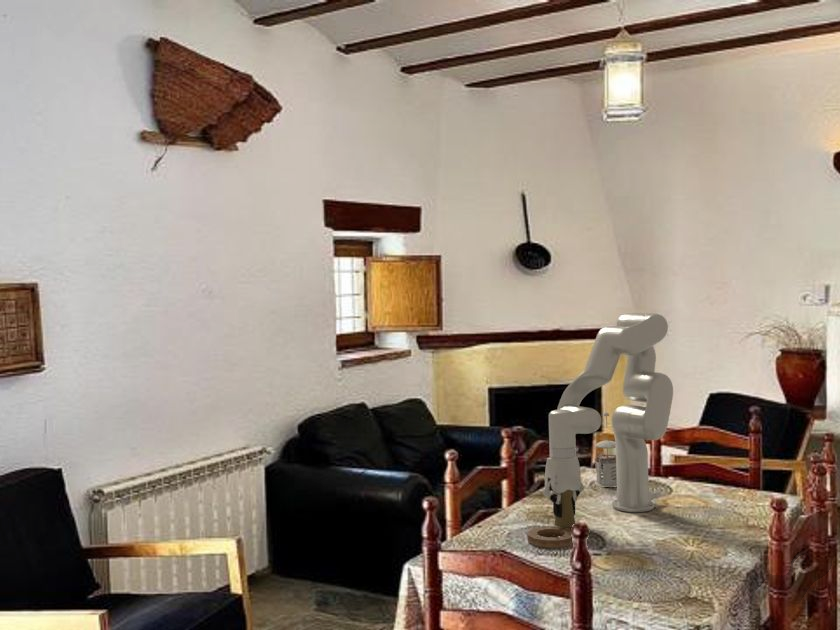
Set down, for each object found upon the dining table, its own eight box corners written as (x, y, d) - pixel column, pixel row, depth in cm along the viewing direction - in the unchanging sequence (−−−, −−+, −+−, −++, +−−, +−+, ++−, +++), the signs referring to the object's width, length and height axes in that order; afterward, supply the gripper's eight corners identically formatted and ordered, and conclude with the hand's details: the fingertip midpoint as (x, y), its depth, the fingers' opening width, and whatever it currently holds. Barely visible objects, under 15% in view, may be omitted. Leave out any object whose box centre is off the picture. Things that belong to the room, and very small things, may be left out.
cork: (575, 527, 235) (574, 489, 235) (554, 527, 237) (552, 489, 236) (575, 521, 241) (574, 484, 241) (554, 521, 243) (553, 484, 242)
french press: (628, 483, 283) (626, 411, 282) (610, 490, 275) (608, 416, 274) (603, 479, 290) (601, 409, 289) (585, 486, 281) (583, 414, 280)
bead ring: (556, 530, 233) (556, 523, 233) (584, 542, 222) (583, 535, 222) (519, 538, 228) (518, 531, 228) (545, 550, 216) (545, 543, 216)
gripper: (578, 447, 245) (579, 508, 246) (531, 454, 238) (533, 516, 239) (594, 451, 239) (595, 513, 239) (546, 458, 231) (548, 523, 232)
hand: (564, 514), depth 239 cm, fingers closed on cork, 4 cm apart
